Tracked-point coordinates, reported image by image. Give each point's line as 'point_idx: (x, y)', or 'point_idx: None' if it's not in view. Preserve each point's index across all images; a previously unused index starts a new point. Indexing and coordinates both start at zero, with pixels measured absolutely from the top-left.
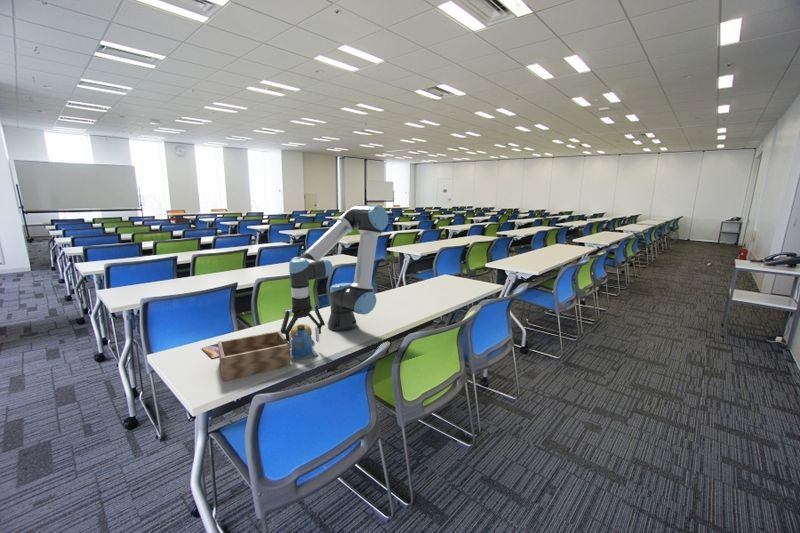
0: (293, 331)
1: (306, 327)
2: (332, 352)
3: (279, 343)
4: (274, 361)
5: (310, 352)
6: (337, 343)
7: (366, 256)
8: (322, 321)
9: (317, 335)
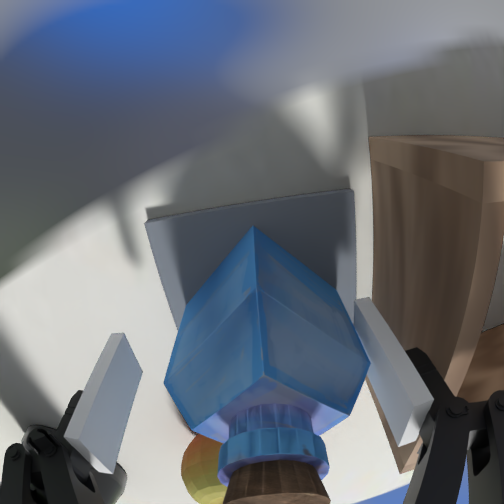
0: None
1: (207, 492)
2: (60, 245)
3: None
4: (491, 142)
5: (200, 283)
6: (51, 347)
7: None
8: (10, 482)
9: (101, 379)
